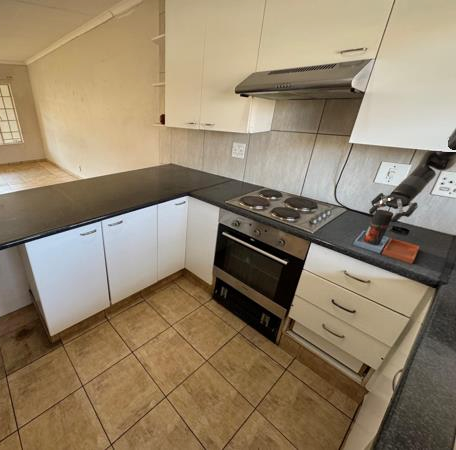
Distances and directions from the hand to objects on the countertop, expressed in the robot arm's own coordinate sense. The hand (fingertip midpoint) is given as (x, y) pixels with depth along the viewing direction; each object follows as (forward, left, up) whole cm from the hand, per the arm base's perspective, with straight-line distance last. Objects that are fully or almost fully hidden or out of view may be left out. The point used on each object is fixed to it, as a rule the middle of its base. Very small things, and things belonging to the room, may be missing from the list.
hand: (380, 217), depth 108 cm
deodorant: (0, -1, -13) cm, 13 cm away
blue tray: (0, -1, -13) cm, 14 cm away
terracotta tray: (-11, -1, -13) cm, 17 cm away
